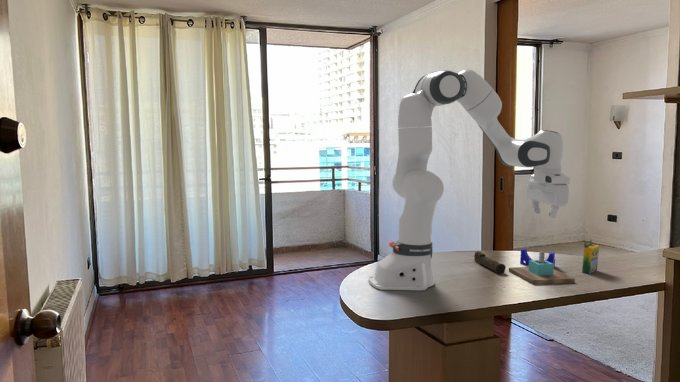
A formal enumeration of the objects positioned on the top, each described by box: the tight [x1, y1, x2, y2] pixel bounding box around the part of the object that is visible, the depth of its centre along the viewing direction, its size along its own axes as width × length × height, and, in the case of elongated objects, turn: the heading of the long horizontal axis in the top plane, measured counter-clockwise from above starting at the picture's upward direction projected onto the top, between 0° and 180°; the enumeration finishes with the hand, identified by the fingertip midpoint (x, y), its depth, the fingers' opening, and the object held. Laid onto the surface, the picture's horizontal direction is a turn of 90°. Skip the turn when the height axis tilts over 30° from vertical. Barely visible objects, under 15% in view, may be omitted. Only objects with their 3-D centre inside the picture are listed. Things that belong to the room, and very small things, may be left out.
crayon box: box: [581, 239, 600, 275], centre depth 184 cm, size 7×3×12 cm, turn 132°
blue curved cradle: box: [519, 248, 556, 268], centre depth 193 cm, size 12×4×6 cm, turn 56°
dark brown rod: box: [473, 251, 506, 275], centre depth 189 cm, size 19×4×5 cm, turn 12°
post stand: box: [508, 250, 576, 286], centre depth 176 cm, size 16×16×10 cm
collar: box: [528, 259, 555, 276], centre depth 176 cm, size 6×6×4 cm
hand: (544, 215), depth 174 cm, fingers open, 8 cm apart
